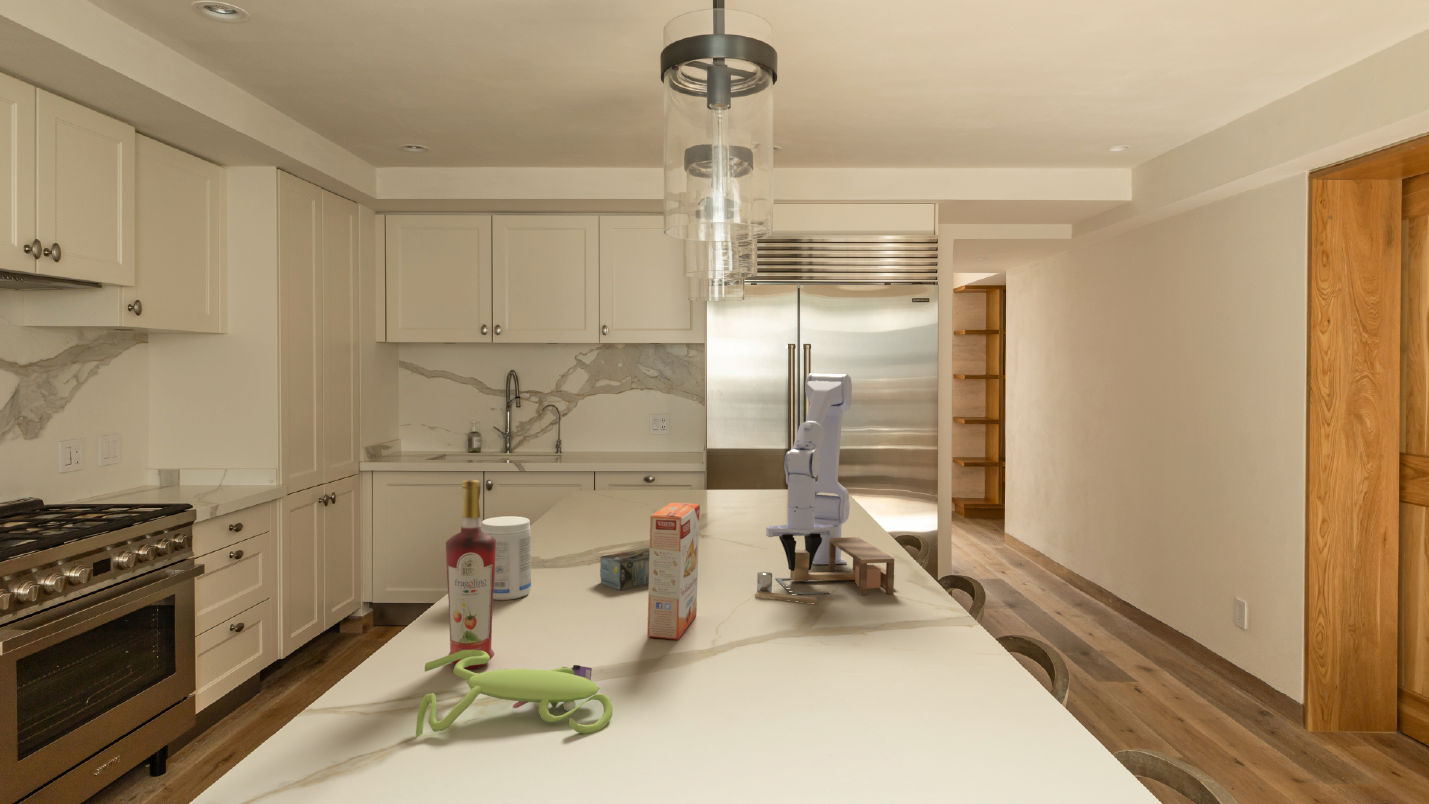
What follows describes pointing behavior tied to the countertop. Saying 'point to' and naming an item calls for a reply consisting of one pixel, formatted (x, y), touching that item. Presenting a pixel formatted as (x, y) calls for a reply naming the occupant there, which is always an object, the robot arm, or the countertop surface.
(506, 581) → the supplement tub
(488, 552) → the liquor
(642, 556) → the beverage carton
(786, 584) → the tape bracket
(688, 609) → the cracker box
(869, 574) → the terracotta cube
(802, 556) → the oak crook
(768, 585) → the spice tin
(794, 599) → the maple bar
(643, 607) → the countertop surface
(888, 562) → the wooden bench
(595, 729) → the figurine
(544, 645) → the countertop surface
